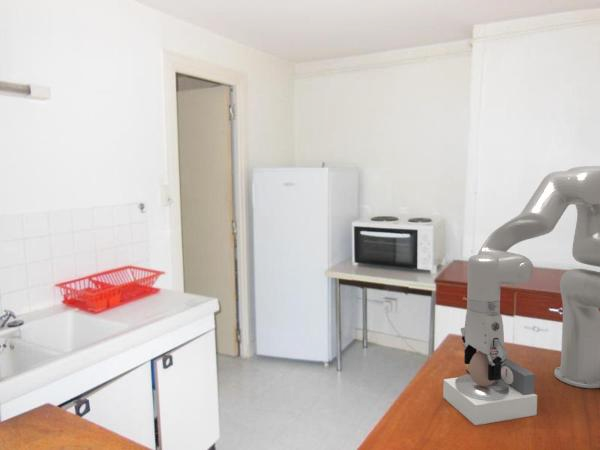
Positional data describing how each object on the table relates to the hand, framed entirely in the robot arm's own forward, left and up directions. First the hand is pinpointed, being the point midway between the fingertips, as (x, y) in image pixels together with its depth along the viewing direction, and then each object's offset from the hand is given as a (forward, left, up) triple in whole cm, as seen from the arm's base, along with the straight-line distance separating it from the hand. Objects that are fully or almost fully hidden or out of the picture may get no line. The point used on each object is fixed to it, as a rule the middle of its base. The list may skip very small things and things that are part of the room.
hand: (481, 371), depth 114 cm
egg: (0, 0, -4) cm, 4 cm away
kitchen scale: (-2, 0, -10) cm, 10 cm away
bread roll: (-13, -17, -10) cm, 24 cm away
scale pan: (0, 0, -5) cm, 5 cm away
